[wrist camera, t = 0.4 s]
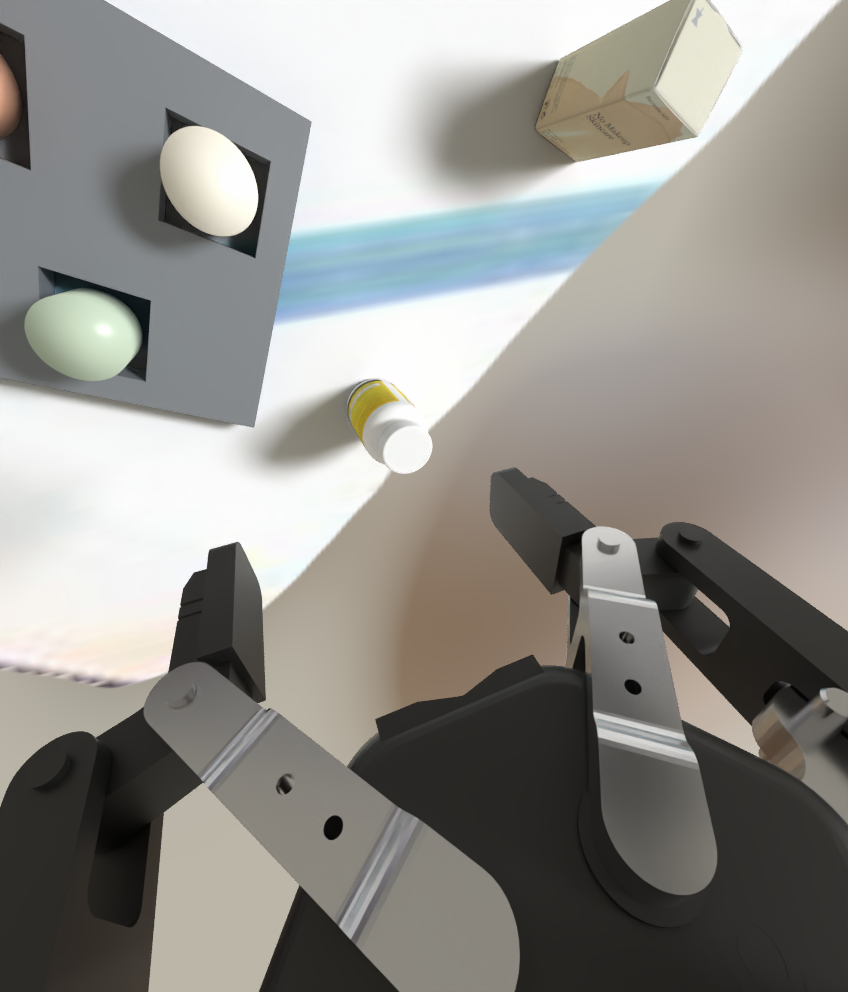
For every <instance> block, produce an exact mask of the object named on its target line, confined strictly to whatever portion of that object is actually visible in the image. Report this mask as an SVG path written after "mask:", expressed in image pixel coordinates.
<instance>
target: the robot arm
mask: <svg viewBox="0 0 848 992" xmlns="http://www.w3.org/2000/svg"><path fill="white" fill-rule="evenodd" d="M490 515H491V519H492V521H493V523H494V525H495V527H496V528H497V529H498V530H499V532H500V533H501V534H502V535H503V536H504V538H505V539H506V540H507V541H508V542H509V544H510V545H511V546H512V547H513V548H514V550H515V551H516V552H517V553H518V554H519V556H520V557H521V558H522V560H523V561H524V562H525V563H526V564H527V566H528V567H529V568H530V569H531V570H532V572H533V573H534V574H535V575H536V576H537V578H538V579H539V580H540V581H541V582H542V584H543V585H544V586H545V587H546V589H547V590H548V591H549V592H550V594H555V593H558V592H560V591H563V590H565V591H566V592H567V593H568V594H569V597H568V603H567V604H568V605H567V606H568V607H567V657H566V665H565V667H562V666H548V665H547V666H545V665H544V666H540V665H539V663H538V662H537V660H536V659H535V657H534V656H533V655H530V656H528V657H525V658H523V659H520V660H518V661H516V662H513V663H511V664H508V665H506V666H504V667H501V668H499V669H497V670H495V671H494V672H493V673H492V674H491V675H489V676H488V677H487V678H485V679H484V680H483V681H481V682H480V683H479V684H478V685H476V686H475V687H474V688H473V689H471V690H470V691H469V692H468V693H466V694H465V695H463V696H459V697H452V698H444V699H437V700H429V701H422V702H416V703H414V704H411V705H409V706H406V707H404V708H402V709H399V710H397V711H394V712H392V713H389V714H387V715H385V716H382V717H380V718H377V719H376V724H377V728H378V731H379V732H378V733H377V734H375V735H374V736H373V737H372V738H370V739H369V740H368V741H367V742H366V743H365V744H364V745H363V746H362V747H361V749H360V750H359V751H358V752H357V753H356V755H355V756H354V757H353V759H352V760H351V761H350V763H349V764H348V766H347V767H346V766H345V765H344V764H342V763H341V762H340V761H339V760H337V759H336V758H335V757H334V756H332V755H331V754H330V753H329V752H327V751H326V750H325V749H324V748H322V747H321V746H320V745H318V744H317V743H316V742H315V741H313V740H312V739H311V738H310V737H308V736H307V735H306V734H304V733H303V732H302V731H301V730H299V729H298V728H297V727H296V726H294V725H293V724H292V723H290V722H289V721H288V720H287V719H286V718H284V717H283V716H282V715H280V714H279V713H278V712H276V711H274V710H273V709H270V708H269V709H268V710H265V709H264V708H263V707H261V706H260V705H259V704H257V703H260V702H262V701H265V700H266V694H265V672H264V669H265V668H264V642H263V616H262V596H261V590H260V586H259V583H258V580H257V578H256V575H255V573H254V571H253V569H252V567H251V565H250V563H249V561H248V558H247V556H246V554H245V552H244V550H243V548H242V546H241V544H240V543H239V542H235V543H232V544H228V545H224V546H221V547H217V548H213V549H210V550H209V554H208V563H207V569H205V570H202V571H198V572H195V573H193V575H192V576H191V578H190V579H189V581H188V582H187V584H186V585H185V587H184V588H183V593H182V598H181V604H180V605H181V608H180V610H179V615H178V619H179V621H177V627H176V632H175V638H174V644H173V649H172V655H171V661H170V666H169V671H168V674H166V675H165V676H164V677H163V678H162V679H161V680H159V681H158V683H157V684H156V685H155V686H154V687H153V689H152V690H151V691H150V693H149V695H148V697H147V699H146V702H145V705H144V707H143V708H141V709H140V710H139V711H138V712H136V713H135V714H133V715H132V716H130V717H129V718H127V719H125V720H124V721H122V722H120V723H119V724H117V725H116V726H114V727H112V728H111V729H109V730H108V731H106V732H104V733H103V734H101V735H100V736H98V737H94V736H93V735H92V734H90V733H88V732H83V731H82V732H81V731H80V732H79V731H78V732H72V733H68V734H65V735H63V736H60V737H58V738H56V739H54V740H53V741H51V742H49V743H48V744H47V745H45V746H43V747H42V748H41V749H39V750H38V751H37V752H36V753H35V754H33V755H32V756H31V757H30V758H29V759H28V760H27V761H26V762H25V763H24V764H23V766H22V767H21V768H20V769H19V771H18V772H17V773H16V774H15V776H14V777H13V779H12V781H11V782H10V784H9V786H8V788H7V791H6V794H5V796H4V799H3V801H2V804H1V807H0V992H148V987H149V977H150V965H151V953H152V941H153V931H154V919H155V907H156V896H157V884H158V873H159V862H160V849H161V839H162V827H163V816H164V812H165V811H166V810H167V809H169V808H170V807H171V806H173V805H174V804H175V803H177V802H178V801H179V800H181V799H182V798H183V797H184V796H186V795H187V794H188V793H190V792H191V791H192V790H193V789H195V788H196V787H198V786H199V785H200V784H202V783H204V784H205V785H206V786H207V788H208V789H209V790H210V791H211V792H212V793H213V794H214V795H215V796H216V797H217V798H218V799H219V800H220V801H221V802H222V803H223V805H225V807H226V808H227V809H228V810H229V811H230V812H231V813H232V814H233V815H234V816H235V817H236V818H237V819H238V820H239V821H240V822H241V824H242V825H243V826H244V827H245V828H246V829H247V830H248V831H249V832H250V833H251V834H252V835H253V836H254V837H255V838H256V839H257V840H258V841H259V842H260V844H261V845H262V846H263V847H264V848H265V849H266V850H267V851H268V852H269V853H270V854H271V855H272V856H273V857H274V858H275V859H276V860H277V862H279V864H280V865H281V866H282V867H283V868H284V869H285V870H286V871H287V872H288V873H289V874H290V875H291V876H292V877H293V878H294V879H295V881H296V882H297V883H298V884H299V888H298V890H297V893H296V895H295V898H294V901H293V903H292V906H291V909H290V912H289V914H288V917H287V919H286V922H285V924H284V927H283V930H282V932H281V935H280V938H279V940H278V943H277V946H276V948H275V951H274V953H273V956H272V959H271V961H270V964H269V967H268V969H267V972H266V974H265V977H264V980H263V983H262V985H261V988H260V990H259V992H848V631H847V630H845V629H844V628H842V627H841V626H840V625H838V624H837V623H835V622H834V621H832V620H831V619H830V618H828V617H827V616H826V615H824V614H823V613H821V612H820V611H819V610H817V609H816V608H815V607H813V606H812V605H810V604H809V603H808V602H806V601H805V600H803V599H802V598H801V597H799V596H798V595H796V594H795V593H794V592H792V591H791V590H790V589H788V588H787V587H785V586H784V585H782V584H781V583H780V582H778V581H777V580H776V579H774V578H773V577H771V576H770V575H769V574H767V573H766V572H764V571H763V570H762V569H760V568H759V567H757V566H756V565H755V564H753V563H752V562H751V561H749V560H748V559H746V558H745V557H744V556H742V555H741V554H739V553H738V552H737V551H735V550H734V549H732V548H731V547H730V546H728V545H727V544H725V543H724V542H723V541H721V540H720V539H719V538H717V537H716V536H714V535H713V534H712V533H710V532H709V531H707V530H706V529H704V528H701V527H699V526H696V525H693V524H690V523H684V522H673V523H669V524H667V525H665V526H664V527H663V528H662V530H661V532H660V535H659V538H644V539H632V538H631V537H629V536H628V535H627V534H625V533H624V532H622V531H620V530H617V529H614V528H611V527H596V526H595V525H594V524H592V523H591V522H590V521H589V520H588V519H587V518H586V517H584V516H583V515H582V514H581V513H580V512H579V511H578V510H576V509H575V508H574V507H573V506H572V505H571V504H569V503H568V502H566V501H565V499H564V498H563V497H561V496H560V495H559V494H558V495H557V492H556V491H554V490H553V489H552V488H551V487H550V486H549V485H547V484H546V483H544V482H541V481H539V480H537V479H535V478H527V477H526V476H525V475H524V474H523V473H522V472H520V471H519V470H518V469H517V468H515V467H513V468H509V469H505V470H502V471H498V472H494V473H493V474H492V476H491V492H490ZM698 589H699V590H700V591H701V592H702V593H703V594H705V595H706V596H707V597H708V598H709V599H710V600H711V601H713V602H714V603H715V604H716V605H717V606H718V607H719V608H721V609H722V610H723V611H724V613H725V614H726V615H727V617H728V619H729V622H730V627H729V626H727V625H726V624H725V623H724V622H723V621H722V620H721V619H720V618H718V617H717V616H716V615H715V614H714V613H713V612H712V611H711V610H710V609H709V608H707V607H706V606H705V605H704V604H703V603H702V602H701V601H700V600H698V599H697V598H696V597H695V594H696V592H697V590H698ZM663 632H664V633H665V634H666V635H667V636H668V637H669V638H670V639H671V640H672V642H673V643H674V644H675V645H676V646H677V647H678V648H679V649H680V650H681V651H682V652H683V653H684V654H685V655H686V656H687V658H688V659H689V660H690V661H691V662H692V663H693V664H694V665H695V666H696V667H697V668H698V669H699V670H700V671H701V672H702V674H703V675H704V676H705V677H706V678H707V679H708V680H709V681H710V682H711V683H712V684H713V685H714V686H715V687H716V689H717V690H718V691H719V692H720V693H721V694H722V695H723V696H724V697H725V698H726V699H727V700H728V701H729V702H730V703H731V704H732V706H733V707H734V708H735V709H736V710H737V711H738V712H739V713H740V714H741V715H742V716H743V717H744V718H745V719H746V720H747V721H748V722H749V724H750V725H751V726H752V732H753V735H754V738H755V740H756V742H757V744H758V746H759V747H760V749H759V757H760V758H759V757H757V756H755V755H753V754H751V753H749V752H747V751H745V750H743V749H741V748H739V747H737V746H735V745H732V744H730V743H728V742H726V741H724V740H722V739H720V738H718V737H716V736H714V735H712V734H710V733H708V732H706V731H704V730H701V729H700V728H697V727H695V726H693V725H691V724H689V723H687V722H685V721H683V720H681V717H680V712H679V707H678V703H677V698H676V693H675V688H674V683H673V679H672V674H671V669H670V665H669V660H668V655H667V650H666V645H665V640H664V636H663Z"/></svg>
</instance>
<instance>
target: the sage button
mask: <svg viewBox="0 0 848 992" xmlns="http://www.w3.org/2000/svg"><path fill="white" fill-rule="evenodd" d="M24 327H25V333H26V337H27V339H28V342H29V344H30V345H31V347H32V349H33V350H34V351H35V353H36V354H37V355H38V356H39V357H40V358H41V359H42V360H43V361H44V362H45V363H46V364H47V365H49V366H50V367H52V368H53V369H55V370H56V371H58V372H60V373H62V374H64V375H66V376H69V377H72V378H75V379H79V380H85V381H100V380H106V379H109V378H111V377H114V376H115V375H117V374H118V373H120V372H121V371H122V370H123V369H124V368H125V367H126V365H127V364H128V363H129V362H130V361H131V360H132V359H133V358H134V357H135V356H136V355H137V353H138V352H139V350H140V349H141V346H142V342H143V333H142V328H141V325H140V323H139V321H138V319H137V317H136V316H135V314H134V313H133V312H132V310H131V309H130V308H129V307H128V306H127V305H126V304H124V303H123V302H122V301H121V300H119V299H118V298H116V297H115V296H113V295H111V294H109V293H107V292H104V291H101V290H97V289H92V288H76V289H72V290H69V291H65V292H62V293H59V294H56V295H52V296H49V297H46V298H43V299H41V300H39V301H37V302H36V303H34V304H33V305H32V306H31V307H30V309H29V310H28V312H27V314H26V317H25V325H24Z"/></svg>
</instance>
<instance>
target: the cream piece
mask: <svg viewBox="0 0 848 992" xmlns="http://www.w3.org/2000/svg"><path fill="white" fill-rule="evenodd" d="M160 173H161V179H162V183H163V186H164V189H165V191H166V193H167V195H168V198H169V199H170V201H171V203H172V204H173V206H174V207H175V208H176V210H177V211H178V212H179V213H180V215H181V216H182V217H183V218H184V219H185V220H187V221H188V222H189V223H190V224H192V225H193V226H194V227H196V228H198V229H199V230H201V231H203V232H205V233H208V234H211V235H216V236H234V235H237V234H239V233H241V232H243V231H244V230H245V229H247V228H248V226H249V225H250V224H251V222H252V220H253V218H254V216H255V213H256V210H257V206H258V190H257V184H256V180H255V177H254V174H253V171H252V169H251V167H250V165H249V163H248V161H247V160H246V158H245V157H244V155H243V154H242V153H241V151H240V150H239V149H238V148H237V147H236V146H235V145H234V144H233V143H232V142H231V141H230V140H229V139H227V138H226V137H225V136H223V135H222V134H220V133H218V132H216V131H214V130H212V129H209V128H206V127H200V126H188V127H184V128H181V129H179V130H177V131H175V132H174V133H173V134H172V135H171V136H170V137H169V138H168V139H167V141H166V142H165V144H164V146H163V148H162V152H161V157H160Z"/></svg>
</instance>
